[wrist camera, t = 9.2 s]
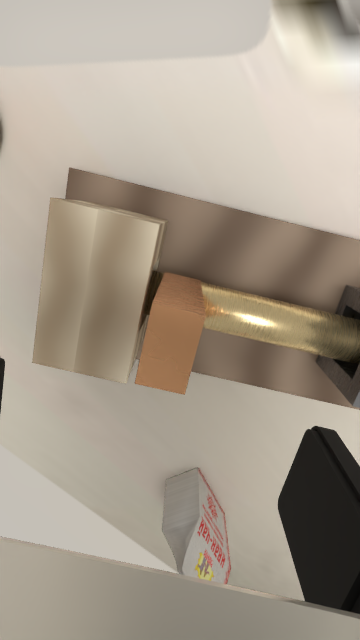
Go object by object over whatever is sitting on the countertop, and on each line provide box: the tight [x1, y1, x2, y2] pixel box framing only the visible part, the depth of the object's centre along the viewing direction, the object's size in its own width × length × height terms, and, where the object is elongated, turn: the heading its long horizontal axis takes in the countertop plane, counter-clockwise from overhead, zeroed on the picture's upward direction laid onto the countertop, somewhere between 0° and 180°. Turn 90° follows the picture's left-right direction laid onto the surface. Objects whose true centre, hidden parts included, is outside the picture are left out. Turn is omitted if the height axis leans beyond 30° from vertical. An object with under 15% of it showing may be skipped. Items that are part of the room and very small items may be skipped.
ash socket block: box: [32, 198, 168, 384], centre depth 24 cm, size 6×10×8 cm, turn 167°
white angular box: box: [162, 468, 231, 584], centre depth 31 cm, size 4×7×10 cm, turn 26°
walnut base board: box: [65, 168, 360, 410], centre depth 29 cm, size 38×14×2 cm, turn 77°
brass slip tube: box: [135, 271, 360, 395], centre depth 21 cm, size 22×4×11 cm, turn 77°
